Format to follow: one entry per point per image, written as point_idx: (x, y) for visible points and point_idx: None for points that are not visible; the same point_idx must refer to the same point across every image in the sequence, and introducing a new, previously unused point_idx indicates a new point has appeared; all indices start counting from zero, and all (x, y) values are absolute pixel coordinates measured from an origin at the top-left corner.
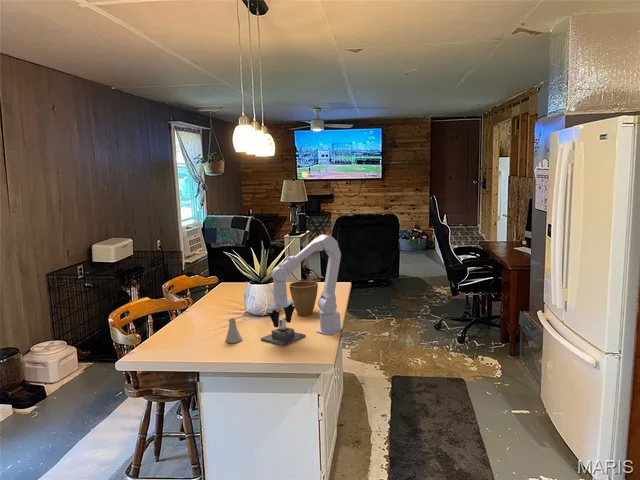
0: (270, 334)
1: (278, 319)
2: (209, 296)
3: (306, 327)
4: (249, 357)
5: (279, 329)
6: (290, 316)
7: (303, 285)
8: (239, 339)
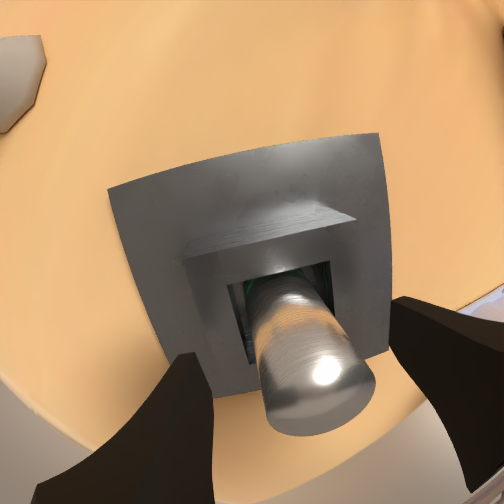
0: (221, 158)
1: (210, 482)
2: None
3: (479, 201)
4: (19, 370)
5: (251, 322)
6: (429, 397)
7: None
8: (7, 117)
